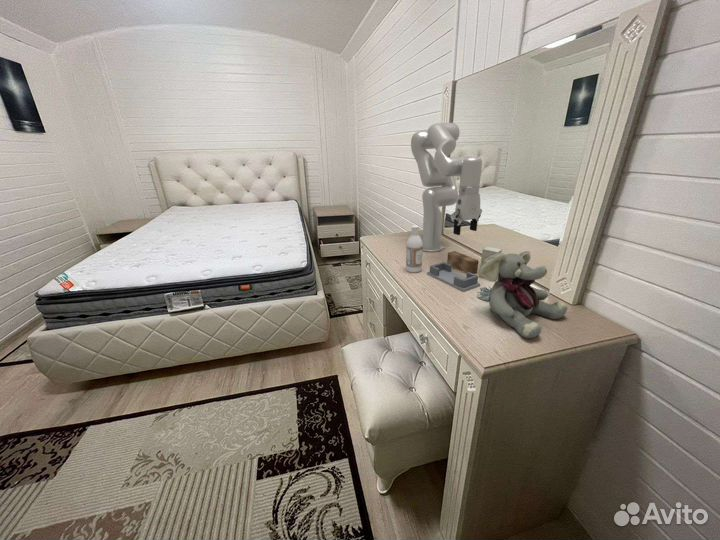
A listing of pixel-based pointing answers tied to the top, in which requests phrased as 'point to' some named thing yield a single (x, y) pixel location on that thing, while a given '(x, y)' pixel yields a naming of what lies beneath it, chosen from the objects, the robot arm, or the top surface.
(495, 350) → the top surface
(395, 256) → the top surface
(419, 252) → the bath foam
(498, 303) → the plush elephant
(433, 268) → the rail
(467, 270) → the slat
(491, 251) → the skincare box
